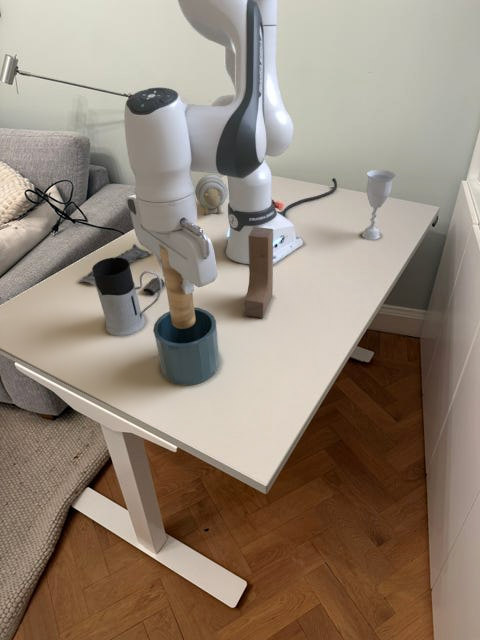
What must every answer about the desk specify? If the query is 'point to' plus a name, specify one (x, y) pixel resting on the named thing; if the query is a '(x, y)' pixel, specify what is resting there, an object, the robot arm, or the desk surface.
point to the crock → (188, 348)
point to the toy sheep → (211, 192)
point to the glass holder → (120, 296)
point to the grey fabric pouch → (127, 255)
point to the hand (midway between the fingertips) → (178, 284)
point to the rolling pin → (177, 295)
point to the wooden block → (259, 272)
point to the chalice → (377, 197)
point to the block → (153, 286)
